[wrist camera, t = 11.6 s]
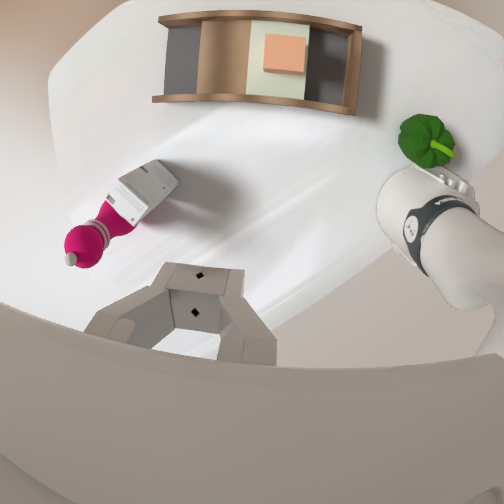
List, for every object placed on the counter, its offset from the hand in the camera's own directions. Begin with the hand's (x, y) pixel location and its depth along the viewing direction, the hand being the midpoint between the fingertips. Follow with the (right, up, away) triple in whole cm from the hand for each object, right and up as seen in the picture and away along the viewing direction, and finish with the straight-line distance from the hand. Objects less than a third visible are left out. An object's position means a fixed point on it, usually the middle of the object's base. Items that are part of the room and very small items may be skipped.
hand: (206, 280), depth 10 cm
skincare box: (-14, +14, +33) cm, 38 cm away
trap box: (+2, +29, +22) cm, 37 cm away
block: (+6, +27, +20) cm, 34 cm away
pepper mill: (-20, +10, +36) cm, 42 cm away
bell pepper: (+28, +20, +26) cm, 43 cm away
